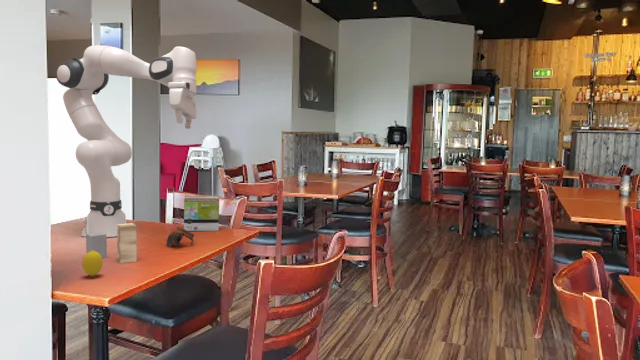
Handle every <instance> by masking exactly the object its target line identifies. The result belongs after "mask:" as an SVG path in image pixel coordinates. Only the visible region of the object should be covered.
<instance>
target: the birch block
mask: <svg viewBox="0 0 640 360" xmlns="http://www.w3.org/2000/svg"><path fill="white" fill-rule="evenodd" d="M116 237H117V241H116V243H117V244H116V245H117V260H118V262H119V263H120V264H123V263H132V262H133V263H134V262H137V258H138V257H137V250H138V249H137V225H136V224H135V223H133V222H132V223H131V222H129V223H126V224H117V236H116Z"/></svg>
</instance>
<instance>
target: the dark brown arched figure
mask: <svg viewBox="0 0 640 360" xmlns="http://www.w3.org/2000/svg"><path fill="white" fill-rule="evenodd" d="M194 237H195V234H194V233H192V232H191V231H187V230H185V229H184V227H181V226H177V227H176V228H175V229H173V230H171V231H170V233H169V235H168V237H167V238H166V239H167V240H166V243H165V245H166V246H167V247H168V248H172V247H173V246H174V247H179V246H180V243H181V242H182V239H183V238H187V239H189V240H190V241H191V242H190V246H193V245H194Z"/></svg>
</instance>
